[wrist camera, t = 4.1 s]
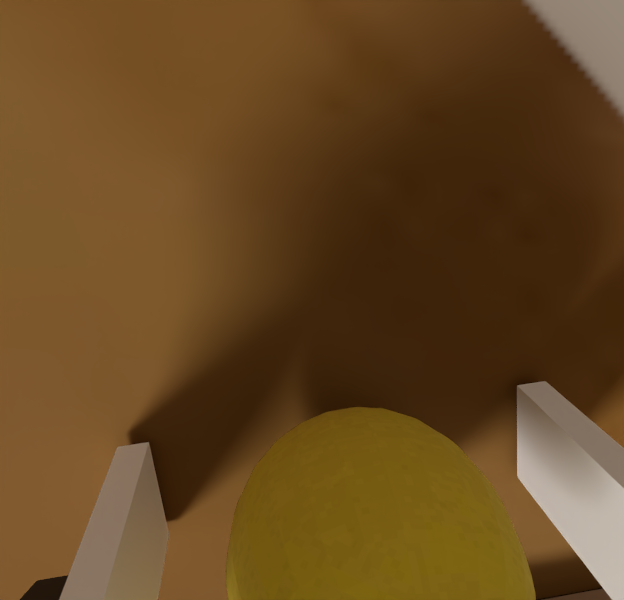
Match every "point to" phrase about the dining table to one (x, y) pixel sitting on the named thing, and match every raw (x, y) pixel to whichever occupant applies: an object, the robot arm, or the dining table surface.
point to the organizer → (585, 596)
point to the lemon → (372, 518)
